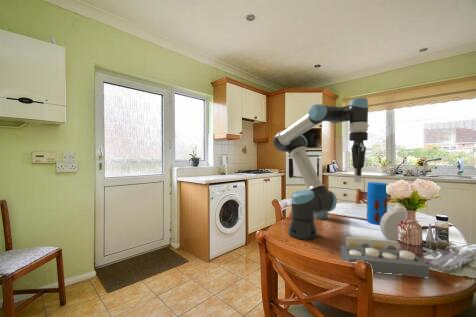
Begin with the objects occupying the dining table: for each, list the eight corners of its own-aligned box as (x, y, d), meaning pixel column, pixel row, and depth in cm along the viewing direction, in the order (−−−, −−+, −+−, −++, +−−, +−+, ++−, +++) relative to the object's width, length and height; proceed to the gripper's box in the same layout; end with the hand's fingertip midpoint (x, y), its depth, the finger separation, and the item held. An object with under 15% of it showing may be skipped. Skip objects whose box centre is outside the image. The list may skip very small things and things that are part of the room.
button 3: (385, 265, 83) (385, 257, 83) (379, 259, 87) (380, 252, 87) (398, 266, 82) (398, 258, 82) (392, 260, 86) (392, 253, 86)
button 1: (350, 262, 85) (350, 254, 85) (347, 256, 90) (347, 249, 90) (363, 263, 84) (363, 255, 84) (359, 257, 89) (359, 250, 89)
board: (348, 270, 82) (349, 258, 82) (340, 255, 94) (340, 245, 94) (428, 278, 77) (429, 266, 76) (409, 261, 88) (409, 251, 88)
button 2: (367, 259, 84) (367, 252, 84) (363, 254, 88) (363, 247, 88) (381, 261, 83) (381, 253, 83) (376, 255, 87) (376, 248, 87)
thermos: (391, 224, 135) (391, 184, 135) (379, 226, 131) (379, 185, 131) (374, 219, 146) (375, 181, 145) (362, 221, 142) (363, 182, 141)
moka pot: (307, 216, 151) (307, 187, 151) (325, 214, 156) (325, 186, 156) (315, 220, 142) (316, 190, 142) (335, 218, 147) (335, 189, 146)
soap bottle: (413, 238, 113) (413, 199, 113) (419, 242, 108) (420, 202, 108) (379, 235, 116) (379, 198, 116) (383, 239, 111) (384, 200, 110)
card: (346, 253, 95) (346, 238, 95) (345, 252, 96) (346, 237, 96) (398, 258, 91) (398, 241, 91) (396, 257, 92) (397, 240, 92)
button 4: (403, 263, 81) (403, 255, 81) (396, 257, 86) (396, 249, 86) (417, 264, 80) (417, 256, 80) (410, 258, 85) (410, 250, 85)
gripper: (372, 130, 95) (372, 184, 95) (362, 133, 108) (361, 180, 108) (354, 130, 96) (353, 184, 97) (345, 133, 109) (345, 180, 110)
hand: (357, 182), depth 103 cm, fingers closed
